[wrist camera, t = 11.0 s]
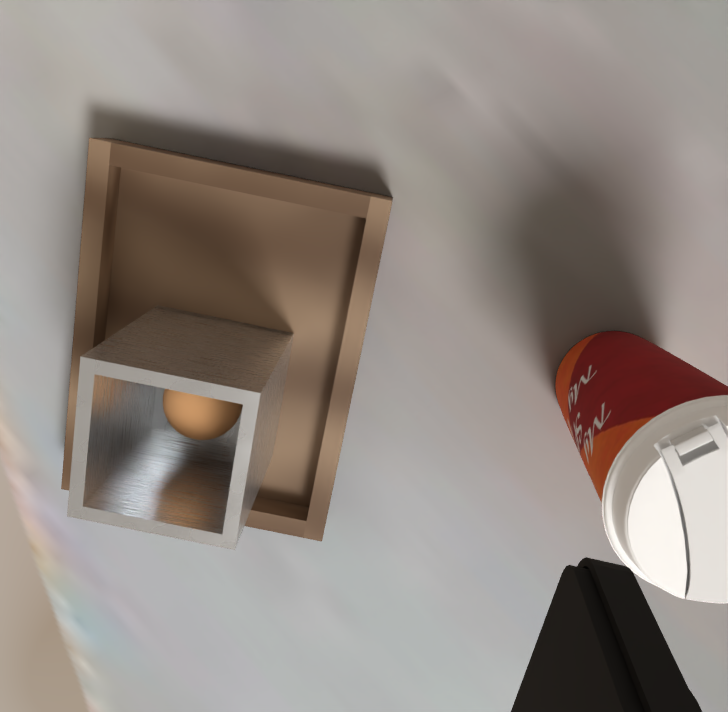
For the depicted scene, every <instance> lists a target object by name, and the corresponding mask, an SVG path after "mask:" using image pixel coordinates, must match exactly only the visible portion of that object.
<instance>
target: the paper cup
mask: <svg viewBox="0 0 728 712" xmlns="http://www.w3.org/2000/svg"><path fill="white" fill-rule="evenodd" d="M556 395H557V399H558V403H559V406H560V408H561V411H562V414H563V416H564V419H565V421H566V423H567V426H568V428H569V430H570V433H571V435H572V437H573V440H574V442H575V444H576V446H577V449H578V451H579V453H580V455H581V458H582V460H583V462H584V464H585V467H586V469H587V471H588V473H589V476H590V478H591V480H592V482H593V485H594V487H595V489H596V491H597V493H598V496H599V498H600V500H601V503H602V519H603V523H604V528H605V532H606V534H607V537H608V539H609V541H610V544H611V546H612V548H613V549H614V551H615V552H616V554H617V555H618V557H619V558H620V559H621V560H622V562H623V563H624V564H625V565H626V566H627V567H629V568H630V569H631V571H633V572H634V573H635V574H637V575H638V576H639V577H641V578H642V579H644V580H646V581H647V582H649V583H651V584H653V585H655V586H657V587H660V588H661V589H663V590H665V591H667V592H668V593H670V594H672V595H674V596H677V597H680V598H683V599H685V598H686V599H688V600H694V601H701V602H710V603H722V604H723V603H728V386H726V385H724V384H722V383H721V382H719V381H717V380H716V379H714V378H712V377H711V376H709V375H707V374H705V373H704V372H702V371H700V370H699V369H697V368H695V367H693V366H692V365H690V364H688V363H686V362H685V361H683V360H681V359H679V358H678V357H676V356H674V355H673V354H671V353H669V352H667V351H665V350H664V349H662V348H660V347H658V346H657V345H655V344H653V343H651V342H649V341H647V340H645V339H643V338H641V337H639V336H636V335H634V334H631V333H627V332H621V331H606V332H600V333H596V334H593V335H591V336H589V337H586V338H585V339H583V340H581V341H580V342H578V343H577V344H576V345H574V346H573V347H572V348H571V349H570V350H569V351H568V353H567V354H566V355H565V357H564V358H563V360H562V362H561V364H560V366H559V368H558V371H557V375H556Z"/></svg>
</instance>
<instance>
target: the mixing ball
mask: <svg viewBox="0 0 728 712" xmlns="http://www.w3.org/2000/svg"><path fill="white" fill-rule="evenodd" d="M242 407H243V404H238V403H233V402H228V401H223V400H218V399H214V398H209V397H204V396H199V395H194V394H189V393H184V392H179V391H174V390H169V389H165V390H164V394H163V409H164V413H165V416H166V418H167V420H168V422H169V423H170V425H171V426H172V427H173V428H174V429H175V430H176V431H177V432H179V433H180V434H182V435H184V436H185V437H188V438H191V439H196V440H209V439H213V438H217V437H219V436H221V435H223V434H225V433H226V432H227V431H229V430H230V429H231V428H232V427H233V426H234V424H235V423H236V422H237V420H238V418H239V416H240V414H241V411H242Z"/></svg>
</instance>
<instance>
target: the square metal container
mask: <svg viewBox="0 0 728 712" xmlns="http://www.w3.org/2000/svg"><path fill="white" fill-rule="evenodd" d="M293 336H294V333H291V332H286V331H281V330H276V329H271V328H267V327H262V326H257V325H252V324H247V323H242V322H237V321H232V320H228V319H223V318H218V317H213V316H208V315H203V314H198V313H193V312H189V311H184V310H179V309H174V308H169V307H164V306H159V305H158V306H156V307H155V308H153V309H152V310H150V311H148V312H147V313H145V314H144V315H142V316H141V317H139V318H138V319H136V320H135V321H133V322H132V323H130V324H129V325H127V326H126V327H124V328H123V329H121V330H120V331H118V332H117V333H115V334H114V335H112V336H111V337H109V338H108V339H106V340H105V341H103V342H102V343H100V344H99V345H97V346H96V347H94V348H93V349H91V350H90V351H88V352H86V353H85V354H83V355H82V356H80V368H79V380H78V392H77V404H76V416H75V428H74V440H73V452H72V464H71V476H70V488H69V500H68V512H67V516H68V517H73V518H78V519H83V520H88V521H93V522H98V523H103V524H108V525H113V526H118V527H123V528H128V529H133V530H138V531H143V532H148V533H153V534H158V535H163V536H168V537H173V538H178V539H183V540H188V541H193V542H198V543H203V544H208V545H213V546H218V547H222V548H227V549H232V550H235V548H236V545H237V543H238V540H239V538H240V535H241V533H242V531H243V528H244V526H245V523H246V521H247V518H248V516H249V513H250V511H251V508H252V506H253V503H254V501H255V498H256V496H257V493H258V491H259V488H260V486H261V484H262V481H263V479H264V476H265V474H266V471H267V469H268V466H269V464H270V461H271V459H272V456H273V450H274V444H275V438H276V433H277V427H278V421H279V416H280V410H281V404H282V399H283V393H284V387H285V382H286V376H287V370H288V365H289V359H290V353H291V348H292V342H293ZM165 389H169V390H174V391H179V392H184V393H189V394H194V395H199V396H204V397H209V398H214V399H218V400H223V401H228V402H233V403H238V404H243V407H242V411H241V414H240V416H239V418H238V420H237V422H236V423H235V424H234V426H233V427H232V428H231V429H230V430H229V431H227V432H226V433H225V434H223V435H221V436H219V437H217V438H213V439H209V440H196V439H191V438H188V437H185V436H184V435H182V434H180V433H179V432H177V431H176V430H175V429H174V428H173V427H172V426H171V425H170V423H169V422H168V420H167V418H166V416H165V413H164V409H163V394H164V390H165Z"/></svg>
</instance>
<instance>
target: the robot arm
mask: <svg viewBox="0 0 728 712" xmlns="http://www.w3.org/2000/svg"><path fill="white" fill-rule="evenodd" d="M511 712H702V711H701V708H700V706H699V704H698V702H697V700H696V699H695V697H694V696H693V694H692V693H691V691H690V690H689V689H688V686H687V684H686V682H685V680H684V678H683V676H682V674H681V672H680V670H679V668H678V666H677V664H676V661H675V659H674V657H673V655H672V653H671V651H670V649H669V647H668V645H667V643H666V641H665V638H664V636H663V634H662V632H661V630H660V628H659V626H658V624H657V622H656V620H655V618H654V615H653V613H652V611H651V609H650V607H649V605H648V603H647V601H646V599H645V597H644V595H643V592H642V590H641V588H640V586H639V584H638V582H637V580H636V578H635V576H634V574H633V572H632V571H631V569H630V568H629V567H626V566H622V565H618V564H613V563H609V562H604V561H600V560H595V559H591V558H584V559H582V560H581V561H580V563H579V564H578V566H577V567H576V566H571V565H568V566H566V568H565V569H564V571H563V573H562V575H561V578H560V580H559V583H558V586H557V588H556V591H555V594H554V597H553V599H552V602H551V605H550V607H549V610H548V613H547V616H546V618H545V621H544V624H543V626H542V629H541V632H540V634H539V637H538V640H537V643H536V645H535V648H534V651H533V653H532V656H531V659H530V662H529V664H528V667H527V670H526V672H525V675H524V678H523V680H522V683H521V686H520V689H519V691H518V694H517V697H516V699H515V702H514V705H513V708H512V710H511Z"/></svg>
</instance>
